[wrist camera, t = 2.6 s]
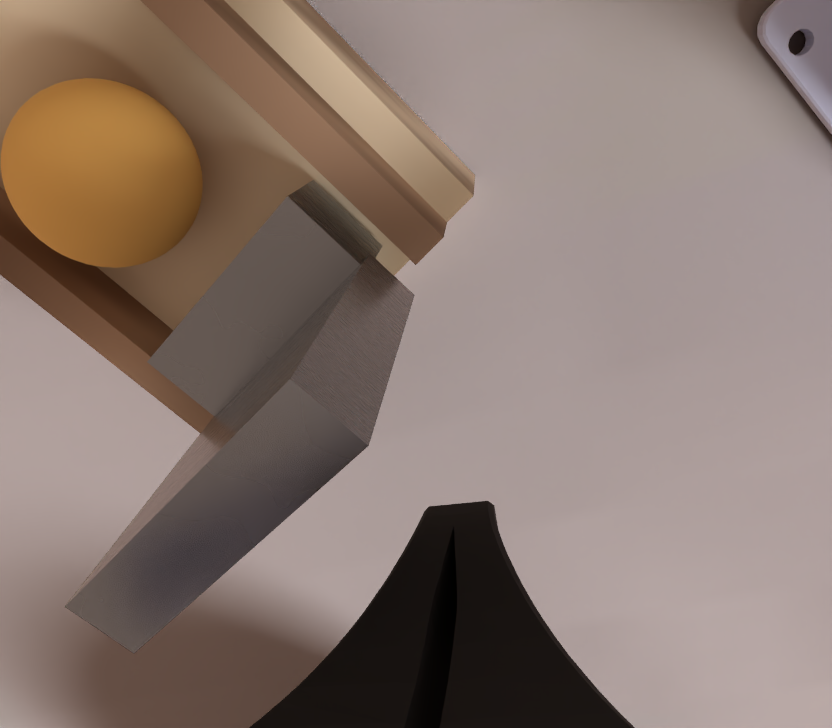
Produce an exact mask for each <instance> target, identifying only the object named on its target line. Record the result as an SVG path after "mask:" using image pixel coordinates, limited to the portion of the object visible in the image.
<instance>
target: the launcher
mask: <svg viewBox="0 0 832 728" xmlns="http://www.w3.org/2000/svg"><path fill="white" fill-rule="evenodd" d="M83 78H94V79H105V80H111V81H116V82H119V83H122V84H125V85H128V86H131V87H133V88H136V89H138V90H140V91H142V92H144V93H146V94H147V95H149V96H150V97H152V98H154V99H155V100H157V101H158V102H159V103H160V104H161V105H163V106H164V107H165V108H166V109H168V110H169V111H170V112H171V113H172V114H173V115H174V116H175V117H176V118H177V120H178V121H179V122H180V123H181V125H182V126H183V127H184V129H185V130H186V132H187V134H188V135H189V137H190V138H191V140H192V143H193V145H194V147H195V149H196V152H197V155H198V158H199V161H200V165H201V170H202V179H203V191H202V198H201V204H200V207H199V211H198V214H197V216H196V219H195V221H194V223H193V225H192V226H191V228H190V229H189V231H188V232H187V234H186V235H185V236H184V238H183V239H182V240H181V241H180V242H179V243H178V244H177V245H176V246H174V247H173V248H172V249H170V250H169V251H168V252H167V253H165V254H163V255H162V256H160V257H158V258H156V259H153V260H151V261H148V262H146V263H143V264H139V265H134V266H129V267H118V268H112V267H99V266H93V265H88V264H85V263H82V262H79V261H76V260H73V259H70V258H68V257H66V256H64V255H61V254H60V253H58V252H56V251H55V250H53V249H51V248H50V247H49V246H47V245H46V244H45V243H43V242H42V241H41V240H39V239H38V238H37V237H36V236H35V235H34V234H33V233H32V232H31V231H30V230H29V229H28V228H27V227H26V226H25V225H24V223H23V222H22V221H21V219H20V218H19V217H18V215H17V213H16V212H15V210H14V208H13V207H12V205H11V203H10V200H9V198H8V196H7V193H6V190H5V187H4V184H3V179H2V173H1V150H2V144H3V139H4V136H5V133H6V130H7V128H8V126H9V124H10V122H11V120H12V118H13V117H14V115H15V114H16V113H17V111H18V110H19V108H20V107H21V106H22V105H23V104H24V103H26V102H27V101H28V100H29V99H30V98H31V97H32V96H34V95H35V94H37V93H38V92H40V91H41V90H43V89H46V88H48V87H50V86H52V85H54V84H57V83H60V82H64V81H67V80H74V79H83ZM312 180H314V181H315V182H316V183H317V184H318V185H320V186H321V187H322V188H323V189H324V190H325V191H326V192H327V193H328V194H329V195H330V196H331V197H332V198H333V199H334V200H335V201H336V202H337V203H338V204H339V205H340V206H342V207H343V208H344V209H345V210H346V211H347V212H348V213H349V214H350V215H351V216H352V217H353V218H354V219H355V220H356V221H357V222H358V223H359V224H360V225H361V226H363V227H364V228H365V229H366V230H367V231H368V232H369V233H370V234H371V235H372V236H373V237H374V238H375V239H376V240H377V241H378V242H379V243H380V244H381V245H382V248H381V250H380V251H379V253H378V255H377V256H376V259H377V260H378V261H379V262H380V263H381V264H382V265H383V266H384V267H385V268H386V269H387V270H388V271H389V272H390V273H391V274H392V275H395V274H396V273H397V272H398V271H399V270H400V269H401V268H402V267H403V266H404V265H405V264H406V263H407V262H408V261H409V260H411V261H412V262H413V263H414V264H415V265H416V264H417V263H418V262H419V261H420V260H421V259H422V258H423V257H424V256H425V255H426V254H427V253H428V252H429V251H430V250H431V249H432V248H433V247H434V246H435V245H436V244H437V243H438V242H439V241H440V240H441V239H442V238H443V237H444V233H445V229H446V224H447V222H448V221H449V220H450V219H451V218H452V217H453V216H454V215H455V214H456V213H457V212H458V211H459V210H460V209H461V208H462V207H463V206H464V205H465V204H466V203H467V202H468V201H469V200H470V199H471V198H472V197H473V195H474V181H475V175H474V174H473V173H472V172H471V171H470V170H469V169H468V168H467V167H466V166H465V165H464V164H463V162H462V161H461V160H460V159H459V158H458V157H457V156H456V155H455V154H454V153H453V152H452V151H451V150H450V149H449V148H448V147H447V146H446V145H445V144H444V143H443V142H442V141H441V140H440V139H439V138H438V137H437V136H436V135H435V134H434V132H433V131H432V130H431V129H430V128H429V127H428V126H427V125H426V124H425V123H424V122H423V121H422V120H421V119H420V118H419V117H418V116H417V115H416V114H415V113H414V112H413V111H412V110H411V109H410V108H409V107H408V106H407V105H406V104H405V103H404V101H403V100H402V99H401V98H400V97H399V96H398V95H397V94H396V93H395V92H394V91H393V90H392V89H391V88H390V87H389V86H388V85H387V84H386V83H385V82H384V81H383V80H382V79H381V78H380V77H379V76H378V75H377V74H376V73H375V71H374V70H373V69H372V68H371V67H370V66H369V65H368V64H367V63H366V62H365V61H364V60H363V59H362V58H361V57H360V56H359V55H358V54H357V53H356V52H355V51H354V50H353V49H352V48H351V47H350V46H349V45H348V44H347V43H346V42H345V40H344V39H343V38H342V37H341V36H340V35H339V34H338V33H337V32H336V31H335V30H334V29H333V28H332V27H331V26H330V25H329V24H328V23H327V22H326V21H325V20H324V19H323V18H322V17H321V16H320V15H319V14H318V13H317V12H316V10H315V9H314V8H313V7H312V6H311V5H310V4H309V3H308V2H307V1H306V0H0V275H2V276H3V277H4V278H5V279H7V280H8V281H9V282H10V283H12V284H13V285H14V286H15V287H17V288H18V289H19V290H21V291H22V292H23V293H24V294H26V295H27V296H28V297H29V298H31V299H32V300H33V301H34V302H36V303H37V304H38V305H39V306H41V307H42V308H43V309H44V310H46V311H47V312H48V313H49V314H51V315H52V316H53V317H55V318H56V319H57V320H58V321H60V322H61V323H62V324H63V325H65V326H66V327H67V328H68V329H70V330H71V331H72V332H73V333H75V334H76V335H77V336H78V337H80V338H81V339H82V340H83V341H85V342H86V343H87V344H89V345H90V346H91V347H92V348H94V349H95V350H96V351H97V352H99V353H100V354H101V355H102V356H104V357H105V358H106V359H107V360H109V361H110V362H111V363H112V364H114V365H115V366H116V367H117V368H119V369H120V370H121V371H123V372H124V373H125V374H126V375H128V376H129V377H130V378H131V379H133V380H134V381H135V382H136V383H138V384H139V385H140V386H141V387H143V388H144V389H145V390H146V391H148V392H149V393H150V394H151V395H153V396H154V397H155V398H157V399H158V400H159V401H160V402H162V403H163V404H164V405H165V406H167V407H168V408H169V409H170V410H172V411H173V412H174V413H175V414H177V415H178V416H179V417H180V418H182V419H183V420H184V421H185V422H187V423H188V424H189V425H191V426H192V427H193V428H194V429H196V430H197V431H198V432H199V433H201V432H202V431H203V430H204V428H205V427H206V426H207V425H208V423H209V422H210V421H211V419H212V418H213V417H214V416H213V415H212V414H211V413H210V412H208V411H207V410H206V409H205V408H203V407H202V406H201V405H200V404H198V403H197V402H196V401H195V400H193V399H192V398H191V397H190V396H188V395H187V394H186V393H185V392H184V391H182V390H181V389H180V388H179V387H177V386H176V385H175V384H174V383H172V382H171V381H170V380H169V379H167V378H166V377H165V376H164V375H162V374H161V373H160V372H159V371H157V370H156V369H155V368H154V367H153V366H151V365H150V364H149V363H148V362H147V361H148V360H149V359H150V358H151V357H152V355H153V354H154V353H155V352H156V351H157V349H158V348H159V347H160V346H161V345H162V344H163V342H164V341H165V340H166V339H167V338H168V336H169V335H170V334H171V333H172V332H173V331H174V329H175V328H176V327H177V326H178V325H179V324H180V322H181V321H182V320H183V319H184V318H185V316H186V315H187V314H188V313H189V312H190V311H191V309H192V308H193V307H194V306H195V305H196V303H197V302H198V301H199V300H200V299H201V298H202V296H203V295H204V294H205V293H206V292H207V290H208V289H209V288H210V287H211V286H212V285H213V283H214V282H215V281H216V280H217V279H218V277H219V276H220V275H221V274H222V273H223V272H224V270H225V269H226V268H227V267H228V266H229V264H230V263H231V262H232V261H233V260H234V259H235V257H236V256H237V255H238V254H239V253H240V251H241V250H242V249H243V248H244V247H245V246H246V244H247V243H248V242H249V241H250V240H251V239H252V237H253V236H254V235H255V234H256V233H257V231H258V230H259V229H260V228H261V227H262V226H263V224H264V223H265V222H266V221H267V220H268V218H269V217H270V216H271V215H272V214H273V213H274V211H275V210H276V209H277V208H278V207H279V205H280V204H281V203H282V202H283V201H284V200H285V198H286V197H287V196H288V195H290V194H292V193H293V192H295V191H296V190H298V189H300V188H301V187H303V186H304V185H306V184H308V183H309V182H311V181H312Z"/></svg>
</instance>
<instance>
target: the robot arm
mask: <svg viewBox="0 0 832 728" xmlns="http://www.w3.org/2000/svg"><path fill="white" fill-rule="evenodd" d="M798 30H800V31H801V32H803V33H804V35H805V37H806V42H805V46H804V48H803V49H802V51H801V52H800V53H798V54H796V55H794V54H792V53H791V52H790V50H789V48H788V44H789V39H790V38H791V36H792V35H793V33H794V32H796V31H798ZM757 36H758V38H759V41H760V43H761V45H762V46H763V47H764V48H765V50H766V51H767V52H768V54H769V55H770V56H771V57H772V59H773V60H774V61H775V63H776V64H777V65H778V66H779V68H780V69H781V70H782V72H783V73H784V74H785V75H786V77H787V78H788V79H789V81H790V82H791V83H792V84H793V86H794V87H795V88H796V90H797V91H798V92H799V93H800V95H801V96H802V97H803V99H804V100H805V101H806V102H807V104H808V105H809V106H810V108H811V109H812V110H813V111H814V113H815V114H816V115H817V117H818V118H819V119H820V120H821V122H822V123H823V124H824V126H825V127H826V128H827V129H828V131H829V132H830V133H831V135H832V0H775V1H774V2H773V3H772V4H771V5H770V6H769V7H768V8H767V9H766V11H765V12H764V13H763V14H762V16H761V18H760V20H759V23H758V26H757ZM250 728H634V727H633V726H632V725H631V724H630V723H629V722H628V721H627V720H626V719H625V718H624V717H623V716H622V715H621V714H620V713H619V712H618V711H617V710H616V709H615V708H614V706H613V705H612V704H611V703H610V702H609V701H608V700H607V699H606V698H605V697H604V696H603V695H602V694H601V693H600V692H599V691H598V689H597V688H596V687H595V686H594V685H593V683H592V682H591V681H590V680H589V679H588V678H587V676H586V675H585V674H584V673H583V672H582V670H581V669H580V668H579V667H578V666H577V664H576V663H575V662H574V661H573V660H572V659H571V657H570V656H569V655H568V653H567V652H566V651H565V649H564V648H563V647H562V645H561V644H560V643H559V641H558V640H557V639H556V637H555V636H554V635H553V633H552V632H551V630H550V629H549V627H548V626H547V624H546V623H545V621H544V620H543V618H542V617H541V615H540V614H539V612H538V611H537V609H536V607H535V606H534V604H533V602H532V601H531V599H530V597H529V595H528V594H527V592H526V590H525V588H524V587H523V585H522V583H521V581H520V579H519V577H518V575H517V574H516V571H515V569H514V567H513V565H512V563H511V561H510V559H509V557H508V554H507V552H506V550H505V547H504V545H503V542H502V540H501V537H500V534H499V531H498V526H497V520H496V514H495V508H494V505H493V504H491V503H490V502H489V501H482V502H472V503H461V504H451V505H441V506H430V507H428V508H427V509H426V511H425V512H424V514H423V516H422V518H421V520H420V522H419V524H418V526H417V528H416V530H415V532H414V534H413V535H412V537H411V539H410V541H409V543H408V544H407V546H406V548H405V550H404V552H403V553H402V555H401V557H400V558H399V560H398V562H397V563H396V565H395V566H394V568H393V570H392V571H391V573H390V575H389V576H388V578H387V579H386V581H385V582H384V584H383V585H382V587H381V588H380V590H379V591H378V593H377V594H376V595H375V597H374V598H373V600H372V601H371V603H370V604H369V606H368V607H367V608H366V610H365V611H364V613H363V614H362V615H361V616H360V618H359V619H358V620H357V622H356V623H355V624H354V625H353V627H352V628H351V629H350V630H349V632H348V633H347V634H346V635H345V636H344V638H343V639H342V640H341V641H340V642H339V644H338V645H337V646H336V647H335V648H334V649H333V650H332V651H331V653H330V654H329V655H328V656H327V657H326V658H325V659H324V660H323V661H322V662H321V663H320V664H319V665H318V666H317V668H316V669H315V670H314V671H313V672H312V673H311V674H310V675H309V676H308V677H307V678H306V679H305V680H304V681H303V682H302V683H301V684H300V685H299V686H297V687H296V688H295V689H294V690H293V691H292V692H291V693H290V694H289V695H288V696H286V697H285V698H284V699H283V700H282V701H281V702H280V703H279V704H277V705H276V706H275V707H274V708H273V709H271V710H270V711H269V712H268V713H267V714H266V715H264V716H263V717H262V718H261V719H260V720H258V721H257V722H256V723H255V724H253V725H252V726H251V727H250Z"/></svg>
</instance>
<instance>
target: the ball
mask: <svg viewBox="0 0 832 728" xmlns="http://www.w3.org/2000/svg"><path fill="white" fill-rule="evenodd" d="M1 173H2V179H3V184H4V187H5V190H6V193H7V196H8V198H9V200H10V203H11V205H12V207H13V208H14V210H15V212H16V213H17V215H18V217H19V218H20V219H21V221H22V222H23V223H24V225H25V226H26V227H27V228H28V229H29V230H30V231H31V232H32V233H33V234H34V235H35V236H36V237H37V238H38V239H39V240H41V241H42V242H43V243H45V244H46V245H47V246H49V247H50V248H51V249H53V250H55V251H56V252H58V253H60V254H61V255H64V256H66V257H68V258H70V259H73V260H76V261H79V262H82V263H85V264H88V265H93V266H99V267H112V268H118V267H129V266H134V265H139V264H143V263H146V262H148V261H151V260H153V259H156V258H158V257H160V256H162V255H163V254H165V253H167V252H168V251H169V250H170V249H172V248H173V247H174V246H176V245H177V244H178V243H179V242H180V241H181V240H182V239H183V238H184V236H185V235H186V234H187V232H188V231H189V229H190V228H191V226H192V225H193V223H194V221H195V219H196V216H197V214H198V211H199V207H200V204H201V198H202V191H203V179H202V170H201V165H200V161H199V158H198V155H197V152H196V149H195V147H194V145H193V143H192V140H191V138H190V137H189V135H188V134H187V132H186V130H185V129H184V127H183V126H182V125H181V123H180V122H179V121H178V120H177V118H176V117H175V116H174V115H173V114H172V113H171V112H170V111H169V110H168V109H166V108H165V107H164V106H163V105H161V104H160V103H159V102H158V101H157V100H155V99H154V98H152V97H150V96H149V95H147V94H146V93H144V92H142V91H140V90H138V89H136V88H133V87H131V86H128V85H125V84H122V83H119V82H116V81H111V80H105V79H94V78H83V79H74V80H67V81H64V82H60V83H57V84H54V85H52V86H50V87H48V88H46V89H43V90H41V91H40V92H38V93H37V94H35V95H34V96H32V97H31V98H30V99H29V100H28V101H27V102H26V103H24V104H23V105H22V106H21V107H20V108H19V110H18V111H17V113H16V114H15V115H14V117H13V118H12V120H11V122H10V124H9V126H8V128H7V130H6V133H5V136H4V139H3V144H2V150H1Z"/></svg>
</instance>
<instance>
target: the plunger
mask: <svg viewBox="0 0 832 728" xmlns="http://www.w3.org/2000/svg"><path fill="white" fill-rule="evenodd" d="M381 248H382V245H381V244H380V243H379V242H378V241H377V240H376V239H375V238H374V237H373V236H372V235H371V234H370V233H369V232H368V231H367V230H366V229H365V228H364V227H363V226H361V225H360V224H359V223H358V222H357V221H356V220H355V219H354V218H353V217H352V216H351V215H350V214H349V213H348V212H347V211H346V210H345V209H344V208H343V207H342V206H340V205H339V204H338V203H337V202H336V201H335V200H334V199H333V198H332V197H331V196H330V195H329V194H328V193H327V192H326V191H325V190H324V189H323V188H322V187H321V186H320V185H318V184H317V183H316V182H315V181H314V180H312V181H311V182H309V183H308V184H306V185H304V186H303V187H301V188H300V189H298V190H296V191H295V192H293V193H292V194H290V195H288V196H287V197H286V198H285V200H284V201H283V202H282V203H281V204H280V205H279V207H278V208H277V209H276V210H275V211H274V213H273V214H272V215H271V216H270V217H269V218H268V220H267V221H266V222H265V223H264V224H263V226H262V227H261V228H260V229H259V230H258V231H257V233H256V234H255V235H254V236H253V237H252V239H251V240H250V241H249V242H248V243H247V244H246V246H245V247H244V248H243V249H242V250H241V251H240V253H239V254H238V255H237V256H236V257H235V259H234V260H233V261H232V262H231V263H230V264H229V266H228V267H227V268H226V269H225V270H224V272H223V273H222V274H221V275H220V276H219V277H218V279H217V280H216V281H215V282H214V283H213V285H212V286H211V287H210V288H209V289H208V290H207V292H206V293H205V294H204V295H203V296H202V298H201V299H200V300H199V301H198V302H197V303H196V305H195V306H194V307H193V308H192V309H191V311H190V312H189V313H188V314H187V315H186V316H185V318H184V319H183V320H182V321H181V322H180V324H179V325H178V326H177V327H176V328H175V329H174V331H173V332H172V333H171V334H170V335H169V336H168V338H167V339H166V340H165V341H164V342H163V344H162V345H161V346H160V347H159V348H158V349H157V351H156V352H155V353H154V354H153V355H152V357H151V358H150V359H149V360H148V361H147V362H148V363H149V364H150V365H151V366H153V367H154V368H155V369H156V370H157V371H159V372H160V373H161V374H162V375H164V376H165V377H166V378H167V379H169V380H170V381H171V382H172V383H174V384H175V385H176V386H177V387H179V388H180V389H181V390H182V391H184V392H185V393H186V394H187V395H188V396H190V397H191V398H192V399H193V400H195V401H196V402H197V403H198V404H200V405H201V406H202V407H203V408H205V409H206V410H207V411H208V412H210V413H211V414H212V415H213V416H214V417H213V418H212V419H211V421H210V422H209V423H208V425H207V426H206V427H205V428H204V430H203V431H202V432H201V433H200V435H199V436H198V437H197V439H196V440H195V441H194V442H193V444H192V445H191V446H190V448H189V449H188V450H187V451H186V453H185V454H184V455H183V456H182V458H181V459H180V460H179V462H178V463H177V464H176V465H175V467H174V468H173V469H172V471H171V472H170V473H169V474H168V476H167V477H166V478H165V479H164V481H163V482H162V483H161V485H160V486H159V487H158V488H157V490H156V491H155V492H154V493H153V495H152V496H151V497H150V499H149V500H148V501H147V502H146V504H145V505H144V506H143V508H142V509H141V510H140V511H139V513H138V514H137V515H136V516H135V518H134V519H133V520H132V522H131V523H130V524H129V525H128V527H127V528H126V529H125V531H124V532H123V533H122V534H121V536H120V537H119V538H118V539H117V541H116V542H115V543H114V545H113V546H112V547H111V548H110V550H109V551H108V552H107V553H106V555H105V556H104V557H103V559H102V560H101V561H100V562H99V564H98V565H97V566H96V568H95V569H94V570H93V571H92V573H91V574H90V575H89V576H88V578H87V579H86V580H85V582H84V583H83V584H82V585H81V587H80V588H79V589H78V591H77V592H76V593H75V594H74V596H73V597H72V598H71V599H70V601H69V602H68V603H67V605H66V606H65V607H66V608H67V609H69V610H70V611H72V612H73V613H75V614H76V615H78V616H79V617H81V618H82V619H84V620H85V621H87V622H88V623H90V624H91V625H92V626H94V627H95V628H97V629H98V630H100V631H101V632H103V633H104V634H106V635H107V636H109V637H110V638H112V639H113V640H115V641H116V642H118V643H119V644H121V645H122V646H124V647H125V648H126V649H128V650H129V651H131V652H132V653H135V652H136V651H137V650H138V649H140V648H141V647H142V646H143V645H144V644H145V643H146V642H148V641H149V640H150V639H151V638H152V637H153V636H154V635H155V634H157V633H158V632H159V631H160V630H161V629H162V628H163V627H164V626H166V625H167V624H168V623H169V622H170V621H171V620H172V619H173V618H175V617H176V616H177V615H178V614H179V613H180V612H181V611H182V610H184V609H185V608H186V607H187V606H188V605H189V604H190V603H192V602H193V601H194V600H195V599H196V598H197V597H198V596H199V595H201V594H202V593H203V592H204V591H205V590H206V589H207V588H208V587H210V586H211V585H212V584H213V583H214V582H215V581H216V580H217V579H219V578H220V577H221V576H222V575H223V574H224V573H225V572H227V571H228V570H229V569H230V568H231V567H232V566H233V565H234V564H236V563H237V562H238V561H239V560H240V559H241V558H242V557H243V556H245V555H246V554H247V553H248V552H249V551H250V550H251V549H252V548H254V547H255V546H256V545H257V544H258V543H259V542H260V541H262V540H263V539H264V538H265V537H266V536H267V535H268V534H269V533H271V532H272V531H273V530H274V529H275V528H276V527H277V526H278V525H280V524H281V523H282V522H283V521H284V520H285V519H286V518H287V517H289V516H290V515H291V514H292V513H293V512H294V511H295V510H297V509H298V508H299V507H300V506H301V505H302V504H303V503H304V502H306V501H307V500H308V499H309V498H310V497H311V496H312V495H313V494H315V493H316V492H317V491H318V490H319V489H320V488H321V487H322V486H324V485H325V484H326V483H327V482H328V481H329V480H330V479H332V478H333V477H334V476H335V475H336V474H337V473H338V472H339V471H341V470H342V469H343V468H344V467H345V466H346V465H347V464H348V463H350V462H351V461H352V460H353V459H354V458H355V457H356V456H357V455H359V454H360V453H361V452H362V451H363V450H364V449H365V448H366V447H368V446H369V442H370V439H371V436H372V432H373V429H374V426H375V423H376V419H377V416H378V413H379V410H380V406H381V403H382V400H383V396H384V393H385V390H386V387H387V383H388V380H389V377H390V374H391V370H392V367H393V364H394V361H395V357H396V354H397V351H398V347H399V344H400V341H401V338H402V334H403V331H404V328H405V325H406V321H407V318H408V315H409V311H410V308H411V305H412V302H413V298H414V294H413V293H412V292H410V291H409V290H408V289H407V288H406V287H405V286H404V285H403V284H402V283H401V282H400V281H399V280H398V279H397V278H396V277H395V276H394V275H392V274H391V273H390V272H389V271H388V270H387V269H386V268H385V267H384V266H383V265H382V264H381V263H380V262H379V261H378V260H377V259H376V256H377V255H378V253H379V251H380V250H381Z"/></svg>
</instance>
